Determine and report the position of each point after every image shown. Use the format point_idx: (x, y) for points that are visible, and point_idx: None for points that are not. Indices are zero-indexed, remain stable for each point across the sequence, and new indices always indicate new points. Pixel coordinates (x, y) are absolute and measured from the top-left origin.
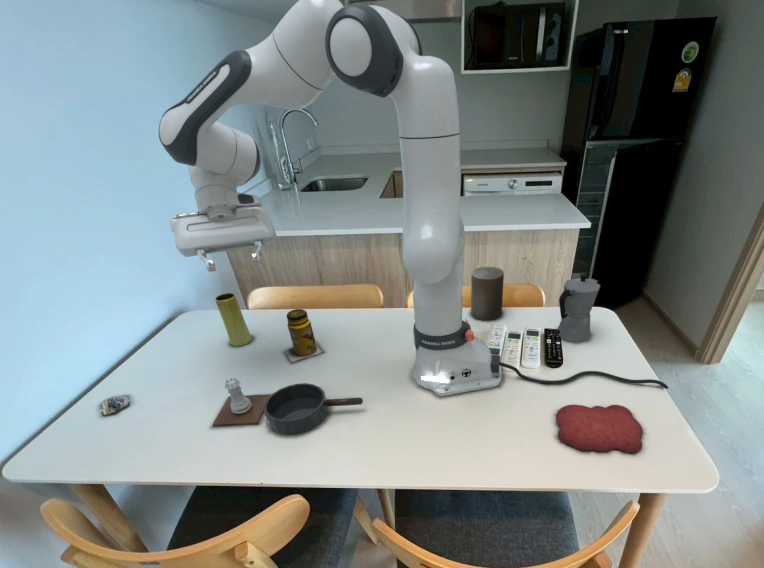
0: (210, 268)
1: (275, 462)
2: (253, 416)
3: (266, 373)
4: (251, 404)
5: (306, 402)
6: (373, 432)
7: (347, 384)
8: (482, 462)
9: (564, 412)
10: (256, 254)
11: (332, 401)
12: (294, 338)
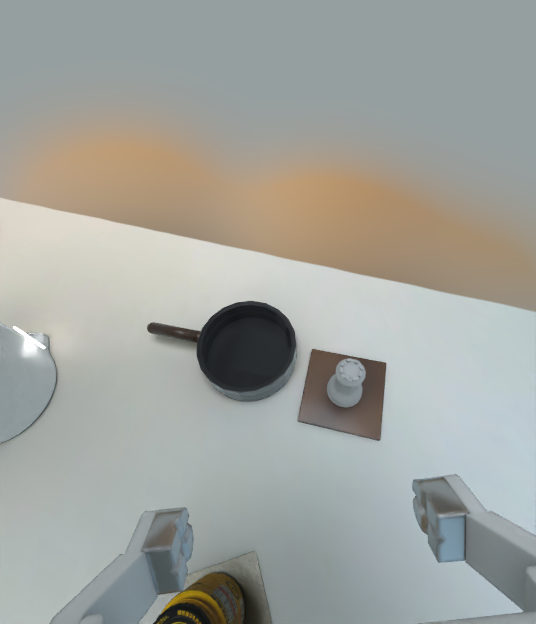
0: (435, 477)
1: (282, 277)
2: (320, 364)
3: (315, 519)
4: (327, 391)
5: (235, 378)
6: (160, 295)
7: (160, 413)
8: (78, 234)
9: None
10: (144, 548)
11: (189, 330)
12: (224, 592)
